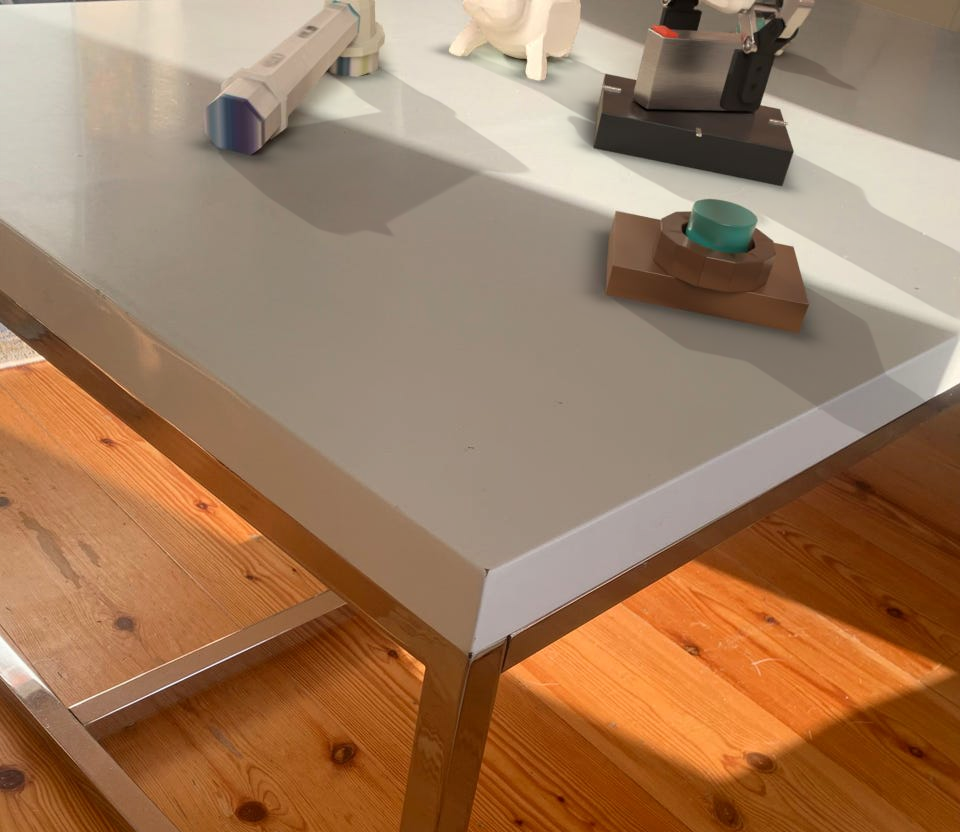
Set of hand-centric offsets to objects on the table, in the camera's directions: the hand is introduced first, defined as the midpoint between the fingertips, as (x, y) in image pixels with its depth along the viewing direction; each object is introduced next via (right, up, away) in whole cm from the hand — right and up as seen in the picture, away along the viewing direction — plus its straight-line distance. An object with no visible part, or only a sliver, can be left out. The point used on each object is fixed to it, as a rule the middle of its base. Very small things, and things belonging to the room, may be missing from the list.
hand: (702, 86), depth 84 cm
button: (-3, -17, -21) cm, 27 cm away
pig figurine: (-14, +7, +12) cm, 20 cm away
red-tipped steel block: (0, -1, +1) cm, 1 cm away
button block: (-4, -19, -18) cm, 26 cm away
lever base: (-1, -4, +2) cm, 5 cm away
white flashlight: (-29, -3, -4) cm, 30 cm away
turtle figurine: (+12, +17, +31) cm, 37 cm away
